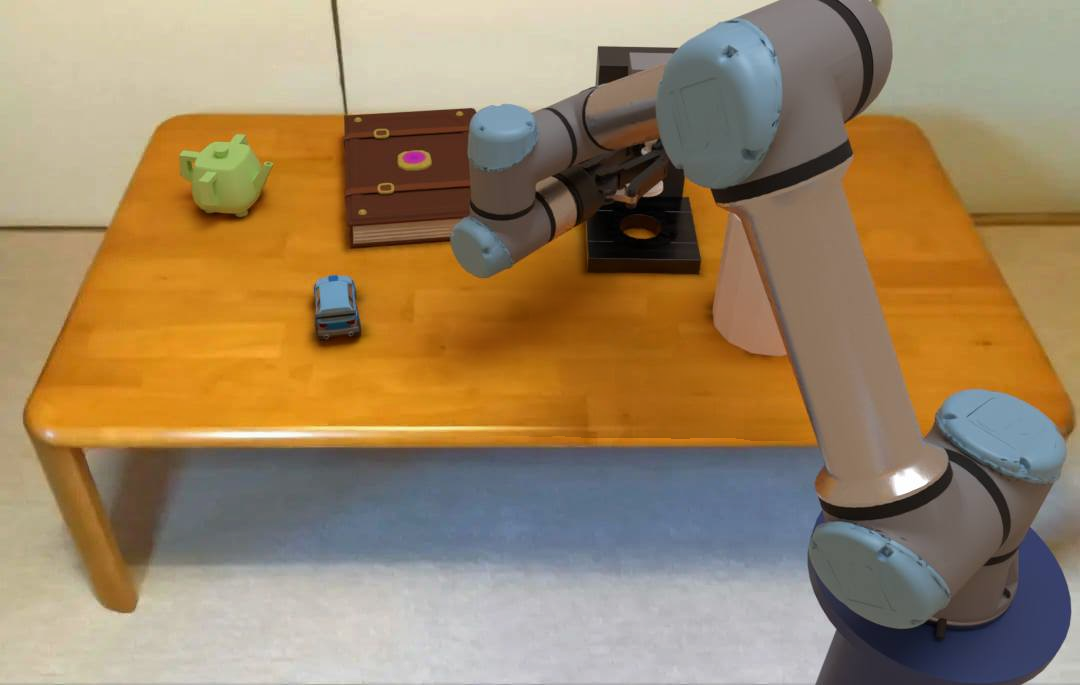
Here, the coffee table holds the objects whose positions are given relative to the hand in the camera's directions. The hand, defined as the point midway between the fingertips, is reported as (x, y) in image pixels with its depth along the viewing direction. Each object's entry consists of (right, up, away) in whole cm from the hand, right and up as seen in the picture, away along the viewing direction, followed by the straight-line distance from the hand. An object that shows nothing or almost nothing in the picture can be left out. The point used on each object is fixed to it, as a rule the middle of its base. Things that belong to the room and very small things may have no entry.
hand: (674, 134), depth 139 cm
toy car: (-46, -25, -2) cm, 52 cm away
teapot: (-66, -7, +18) cm, 68 cm away
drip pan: (-4, -13, +12) cm, 18 cm away
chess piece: (-4, -7, +1) cm, 8 cm away
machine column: (-4, -8, +19) cm, 20 cm away
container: (+12, -26, -1) cm, 28 cm away
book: (-38, -4, +22) cm, 44 cm away
